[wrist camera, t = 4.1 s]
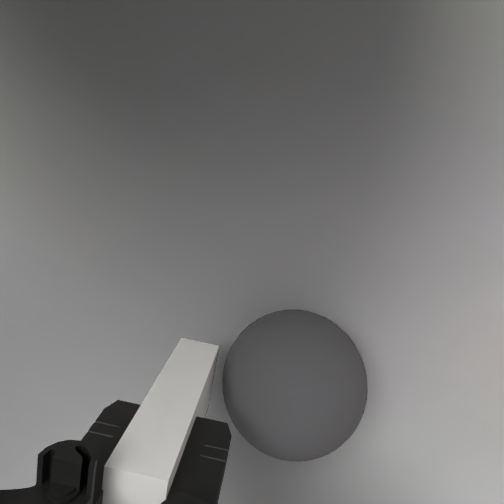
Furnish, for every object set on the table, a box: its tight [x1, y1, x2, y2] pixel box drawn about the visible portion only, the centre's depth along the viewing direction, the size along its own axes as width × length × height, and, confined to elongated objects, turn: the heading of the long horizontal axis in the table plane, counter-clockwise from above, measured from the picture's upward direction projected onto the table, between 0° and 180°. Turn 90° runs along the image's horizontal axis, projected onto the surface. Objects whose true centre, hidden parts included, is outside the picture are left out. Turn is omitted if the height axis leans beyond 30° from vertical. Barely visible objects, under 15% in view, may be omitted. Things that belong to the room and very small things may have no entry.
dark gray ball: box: [223, 310, 367, 461], centre depth 16 cm, size 6×6×6 cm
